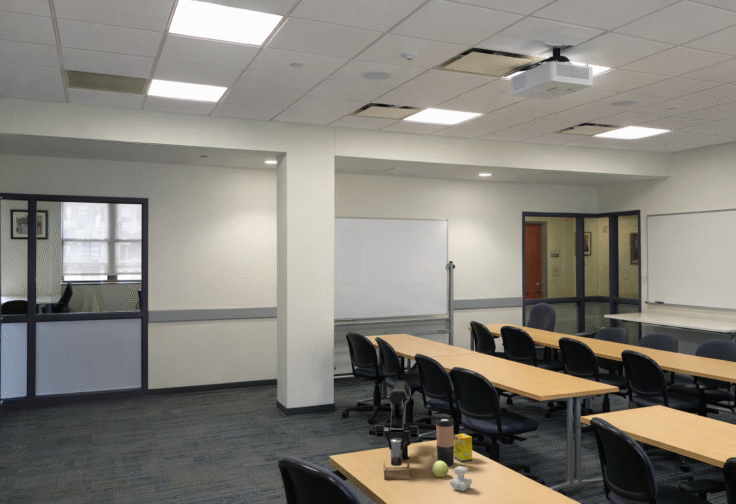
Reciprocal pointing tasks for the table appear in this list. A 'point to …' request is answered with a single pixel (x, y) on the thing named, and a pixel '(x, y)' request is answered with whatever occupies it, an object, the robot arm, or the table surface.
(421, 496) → the table surface
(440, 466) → the tennis ball
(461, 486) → the stamp
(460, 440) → the supplement box
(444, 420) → the travel mug
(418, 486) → the table surface
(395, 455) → the canister
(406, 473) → the holder
